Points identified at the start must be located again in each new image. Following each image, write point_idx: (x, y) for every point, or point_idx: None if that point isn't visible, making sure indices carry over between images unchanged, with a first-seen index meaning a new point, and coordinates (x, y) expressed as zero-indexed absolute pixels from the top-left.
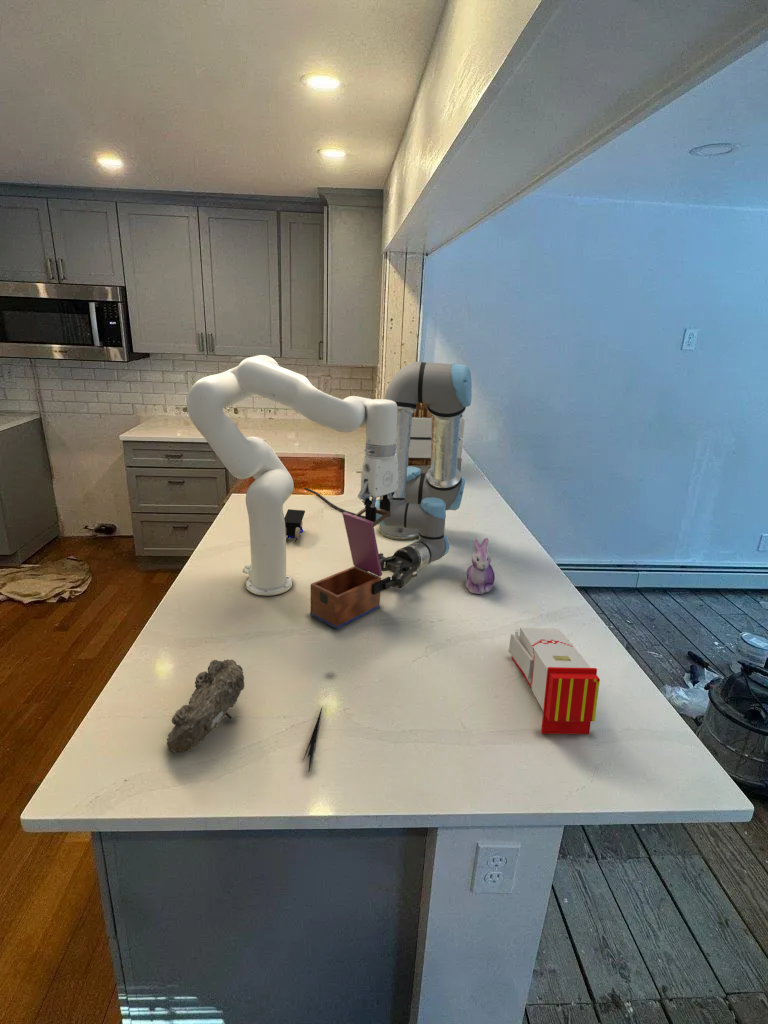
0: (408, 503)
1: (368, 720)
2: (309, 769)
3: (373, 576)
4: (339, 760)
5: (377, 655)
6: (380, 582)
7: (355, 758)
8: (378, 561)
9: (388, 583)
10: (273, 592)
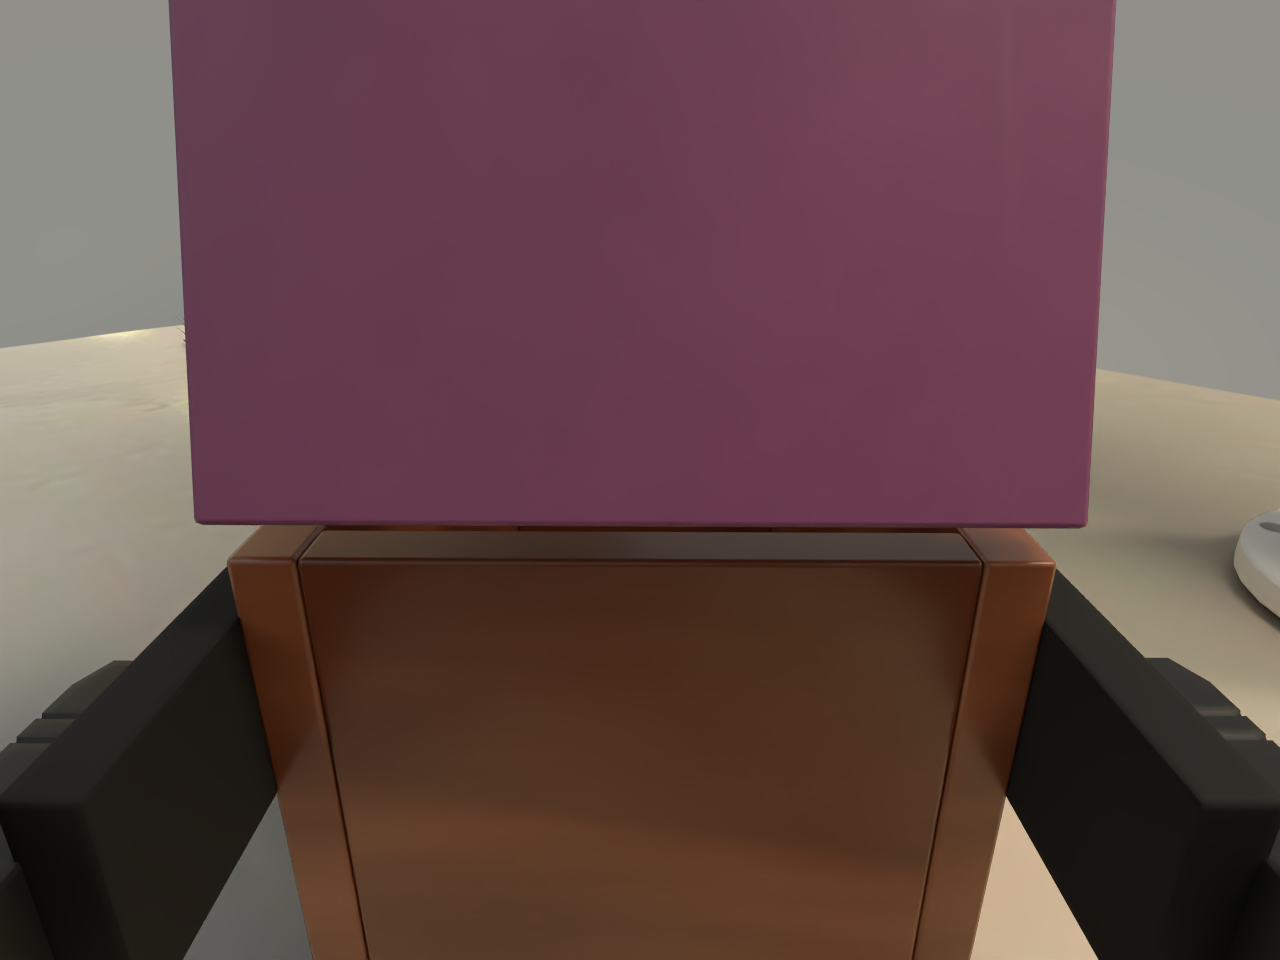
0: None
1: (53, 410)
2: (184, 340)
3: (414, 537)
4: (115, 362)
5: (95, 558)
6: (220, 574)
7: (67, 370)
8: (198, 86)
9: (55, 721)
10: (1239, 546)
